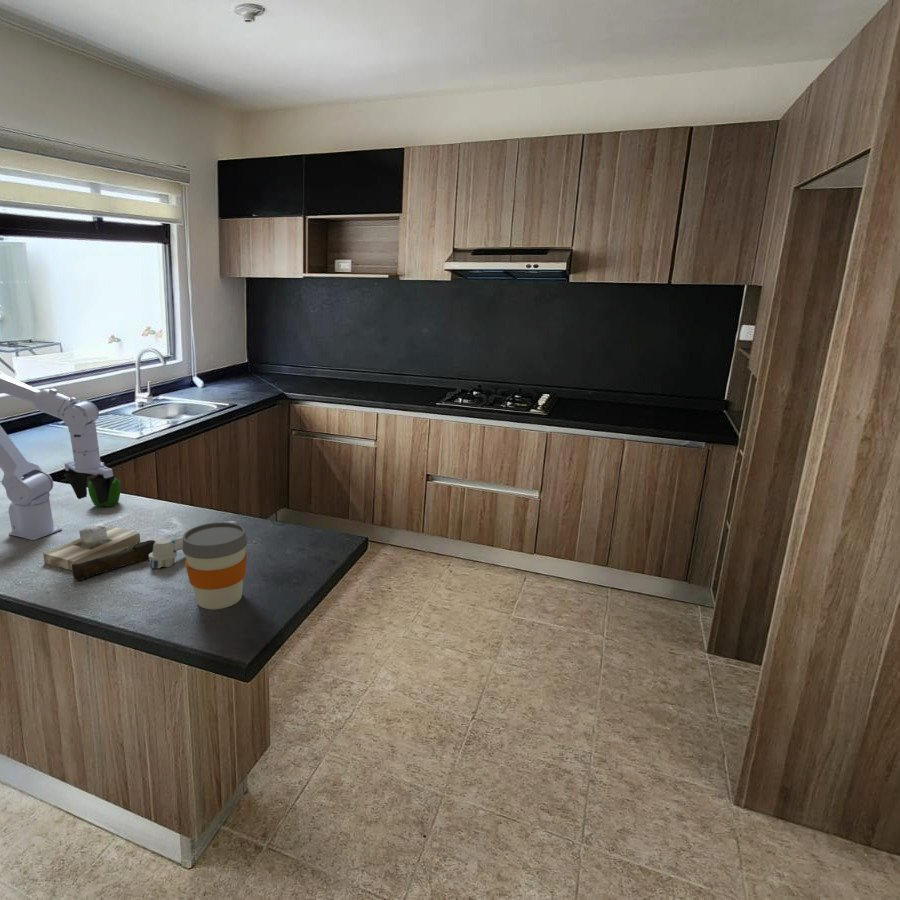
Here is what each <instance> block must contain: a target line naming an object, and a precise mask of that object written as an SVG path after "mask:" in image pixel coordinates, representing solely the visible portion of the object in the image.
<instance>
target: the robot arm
mask: <svg viewBox="0 0 900 900" xmlns="http://www.w3.org/2000/svg"><path fill="white" fill-rule="evenodd" d="M0 393H3V394H5V395H9V396H12V397H14V398H18V399H20V400H22V401H23V400H24V401H27V402H29V403H32V404H33V405H34V408H35V409H36V411H40V412H42V413H44V414H48V415H49V416H52V417H56V418H57V419H60V420H62V422H63V423H64V424H65V426H66V427H67V428H68V433H69V435H70V443H71V450H72V457H73V461H69V462H64V470H65V471H67V473H64V474H63V478H65V479H66V480H67V482H68V483H69V485H70V486H71V488H72V489H73V492H74V494H75V496H76V498H77V499H78V500H82V499H84V498H87V495H88V482H87V481H88V475H93V476H95V477H92V478H89V481H91V483H92V484H93V486H94V488H95V491H96V495H97V499H98V502H99V503H100V504H102V503H105V502H108V497H109V491H110V487H111V484H112V482H113V480H114V478H115V477H116V476H115V474H114V473H113V469H112V468H110V467H107V466H105V462H102V461H101V455H100V447H99V441H98V433H97V425H96V421H97V420H98V418H99V415H100V412H99V408H98V407H97V405H96V404H95V403H93V402H92V401H90V400H87V399H83V400H79V401H78V398H76V397H73V396H72V397H69V396H67V395H65V394H63V393H60V392H59V390H58V389H56V388H44V389H43V390H40V389H37V388H35V387H33V386H30V385H29V384H26V383H25V382H23V381H20V380H19V379H18V380H17V379H16V378H14V377H11V376H9V375H7V374H5V372H3V371H2V370H0ZM0 469H1V470H2V472H3V476H2V480H1V484H2V487H4V490H5V493H6V497H7V499H8V500H9V501H11V503H10V505H9V507H8V516H9V520H10V521H9V522H10V527H11V531H9V532H8V535H11V536H15V537H20V538H23V539H26V540H31V541H34V540H39V539H41V538H43V537H46V536H50V535H51V534H55V533H57V532H59V531H62V530H63V527H60V526H56V525H54V519H53V512H52V507H51V501H50V494H51V493H50V492H51V491H52V489H53V487H54V480H53V478H52V476H51V475H50V474H49V473H47V472H46V471H44V470H42V468H41V467H40V466H39V465H38V464H37V463H36V464H35V463H33V462H31V461H28V460H27V459H26V457H24V455H23V454H22V452H21V451H20V450H19V448H18V447H17V445H15V443H14V441H12V439H11V438H10V436H9V435H8V434H7V432H6V431H5V429H4V428H3V427H2V426H1V425H0Z"/></svg>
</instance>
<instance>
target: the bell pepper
mask: <svg viewBox="0 0 900 900" xmlns="http://www.w3.org/2000/svg"><path fill="white" fill-rule="evenodd" d="M121 488H122V485H121V482H120V480H119V479H117V477H116V476H115V478H114V480H113V482H112V484H111V487H110V491H109V497H108V502H105V503H102V504H100V503H99V502H98V499H97V495H96V491H95V488H94V486H93V484H92V483H91V481H90V480H88V482H87V492H88V495H89V497H90V499H91V502H92V503H93V505H94V506H95V507H97V508H99V507H101V508H102V507H113V506H115V504H116V505H118V504H119V501H120V496H121V490H122V489H121Z"/></svg>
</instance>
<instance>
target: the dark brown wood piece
mask: <svg viewBox="0 0 900 900" xmlns="http://www.w3.org/2000/svg"><path fill="white" fill-rule="evenodd" d="M156 541H157V540H154V539H152V540H151V539H149V540H146V541H142V542H139V543H137V544H134V545H132V546H131V547H132V548H129V549H128V548H127V549H126V550H125V549H124V550H121V551H119V552H117V553H115V554H112V555H108V556H105V557H102V558H97V559H94V560H91V561H86V562H84V563H80V564H72V570H71V571H72V576H73V577H74V579H75V581H77V582H80V581H81V580H84V579H85V580H88V578H89V577H92V576H95V575H98V574H102V573H105V572H107V571H112V570H115V569H117V568H121V567H124V566H126V565H127V566H128V565H130V564H135V563H137V564H142V563H145V562H147V561H151V560H150V559H149V554H150V553H152V552H153V546H154V543H155V542H156Z"/></svg>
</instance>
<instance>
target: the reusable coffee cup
mask: <svg viewBox="0 0 900 900" xmlns="http://www.w3.org/2000/svg"><path fill="white" fill-rule="evenodd" d="M239 524H240V523H239ZM239 524H236V523H230V522H228V521H224V522H222V521H219V522H218V521H217V522H216V521H215V522H211V523H204V524H200V525H197V526H194V527H192V528H189V529H188V530H187V531H186V532H184V534H183V535H182V536H183V549H182V553H183V554H184V555H185V561H184V562H185V563H184V564H185V565H184V566H185V569H186V573H187V575H188V576H187V577H188V580H189V581H188V582H189V583H190V585H191V586H192V588H193V591H194V595H195V600H196V604H197V605H198V607H200V608H203V609H206V610H220V609H225V608H228V607H231V606H233V605H235V604H237V603H238V602H240V600H241V599H242V597H243V585H244V584H243V583H244V578H245V577H246V572H247V571H246V570H247V558H248V554H247V552H246V546H247V544H248V538H247V535H246V528H245V527H244V526H243V525H241V524H240V525H239Z"/></svg>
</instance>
